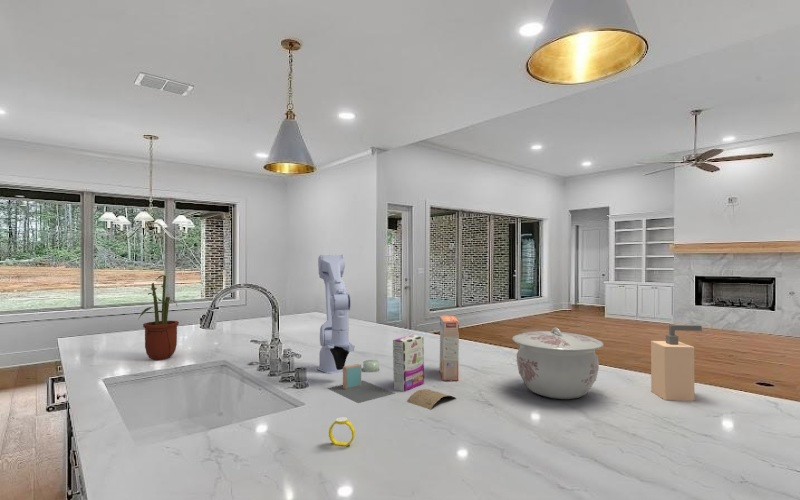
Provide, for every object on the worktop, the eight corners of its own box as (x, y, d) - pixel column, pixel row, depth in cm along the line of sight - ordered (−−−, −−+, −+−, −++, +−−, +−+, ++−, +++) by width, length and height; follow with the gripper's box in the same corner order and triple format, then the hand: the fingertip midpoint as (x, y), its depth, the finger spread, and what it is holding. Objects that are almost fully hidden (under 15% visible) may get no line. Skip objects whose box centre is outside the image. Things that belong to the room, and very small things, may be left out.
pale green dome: (360, 370, 164) (360, 361, 164) (373, 368, 168) (373, 359, 168) (369, 374, 160) (369, 364, 160) (382, 371, 163) (382, 362, 163)
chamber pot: (575, 415, 119) (574, 339, 119) (494, 390, 140) (494, 326, 141) (621, 394, 137) (620, 328, 137) (543, 375, 158) (543, 318, 158)
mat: (327, 389, 142) (327, 388, 142) (362, 381, 151) (362, 380, 151) (358, 404, 128) (358, 403, 128) (395, 394, 137) (395, 393, 137)
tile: (342, 388, 142) (342, 366, 142) (358, 384, 146) (358, 363, 146) (346, 389, 140) (346, 367, 140) (361, 386, 144) (361, 364, 144)
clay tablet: (430, 412, 123) (430, 403, 123) (402, 404, 129) (402, 395, 129) (458, 399, 133) (458, 391, 133) (432, 392, 140) (432, 384, 140)
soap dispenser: (665, 400, 131) (664, 327, 131) (650, 391, 140) (650, 322, 140) (709, 401, 130) (709, 327, 130) (692, 392, 139) (692, 323, 139)
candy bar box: (412, 381, 150) (412, 334, 150) (424, 384, 147) (424, 335, 147) (392, 389, 141) (392, 339, 141) (404, 392, 138) (404, 341, 138)
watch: (328, 447, 100) (326, 421, 100) (332, 442, 103) (330, 416, 103) (353, 447, 99) (351, 421, 99) (356, 442, 102) (355, 416, 102)
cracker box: (459, 381, 150) (459, 320, 151) (442, 381, 151) (442, 320, 151) (455, 370, 164) (455, 315, 165) (439, 370, 165) (439, 315, 165)
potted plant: (185, 357, 185) (185, 274, 185) (147, 365, 172) (147, 276, 172) (162, 352, 194) (162, 273, 194) (124, 359, 181) (125, 275, 181)
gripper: (319, 327, 152) (319, 366, 152) (341, 333, 141) (341, 375, 141) (336, 325, 156) (336, 363, 156) (359, 331, 145) (359, 372, 145)
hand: (340, 369), depth 149 cm, fingers closed
